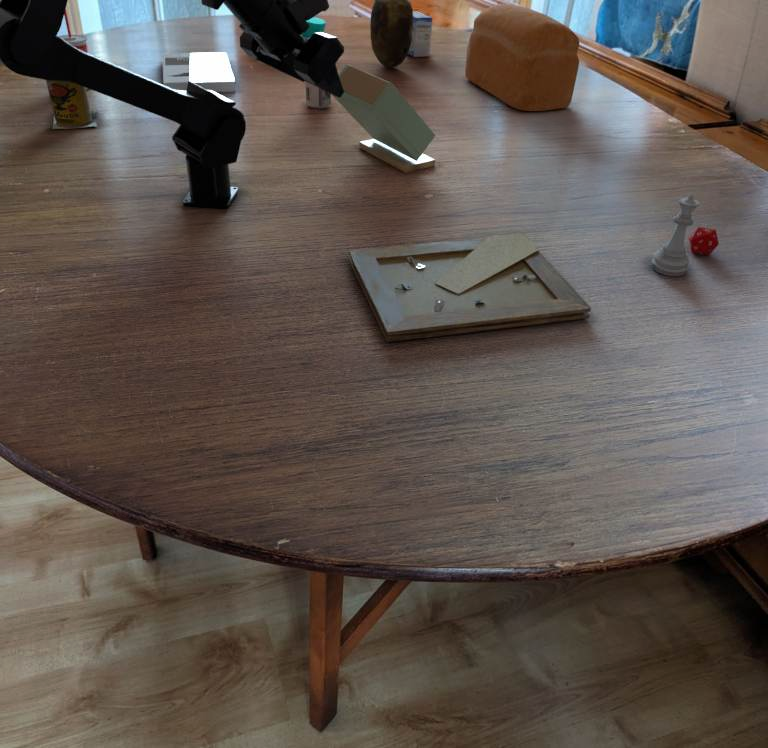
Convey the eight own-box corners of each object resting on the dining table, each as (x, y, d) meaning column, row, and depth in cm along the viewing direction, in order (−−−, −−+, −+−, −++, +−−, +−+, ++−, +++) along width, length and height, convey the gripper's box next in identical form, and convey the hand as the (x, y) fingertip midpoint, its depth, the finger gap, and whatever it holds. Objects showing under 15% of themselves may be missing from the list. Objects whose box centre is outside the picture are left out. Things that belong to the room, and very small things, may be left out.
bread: (516, 114, 141) (529, 26, 132) (459, 77, 160) (467, -2, 151) (576, 109, 145) (593, 23, 136) (514, 74, 165) (525, -4, 155)
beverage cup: (97, 90, 143) (82, 12, 134) (64, 92, 141) (47, 13, 132) (95, 81, 147) (80, 5, 139) (63, 83, 145) (46, 6, 137)
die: (727, 248, 96) (717, 219, 95) (715, 256, 94) (705, 226, 93) (701, 254, 98) (692, 227, 98) (689, 262, 96) (679, 234, 96)
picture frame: (522, 245, 96) (348, 261, 91) (524, 232, 95) (348, 248, 90) (588, 319, 82) (387, 343, 77) (591, 306, 81) (387, 329, 75)
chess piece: (652, 257, 95) (673, 184, 89) (687, 264, 94) (711, 191, 88) (649, 272, 92) (671, 197, 86) (685, 279, 90) (710, 204, 84)
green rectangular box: (416, 161, 116) (371, 111, 106) (373, 138, 123) (327, 90, 113) (435, 135, 115) (392, 83, 105) (391, 114, 123) (346, 63, 113)
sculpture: (415, 74, 161) (422, -27, 149) (378, 75, 159) (382, -28, 147) (399, 59, 171) (404, -38, 159) (364, 60, 169) (367, -38, 157)
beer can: (327, 110, 138) (326, 43, 131) (303, 108, 139) (301, 40, 132) (333, 103, 142) (333, 37, 135) (310, 100, 143) (308, 35, 135)
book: (163, 63, 160) (162, 53, 159) (226, 61, 163) (226, 52, 162) (164, 93, 142) (163, 83, 141) (235, 91, 146) (235, 81, 144)
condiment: (52, 130, 124) (34, 55, 116) (54, 114, 130) (38, 43, 123) (97, 127, 126) (82, 54, 118) (97, 112, 132) (83, 41, 125)
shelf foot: (405, 172, 115) (405, 166, 114) (359, 147, 123) (359, 141, 122) (434, 165, 118) (435, 159, 117) (387, 141, 126) (387, 135, 125)
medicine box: (399, 49, 178) (401, 11, 173) (415, 48, 180) (417, 10, 175) (413, 57, 173) (416, 17, 167) (430, 56, 174) (433, 17, 169)
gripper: (335, -33, 88) (396, 57, 101) (256, -53, 100) (319, 30, 112) (280, 40, 89) (348, 121, 101) (207, 12, 100) (276, 87, 112)
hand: (323, 86), depth 107 cm, fingers open, 9 cm apart
